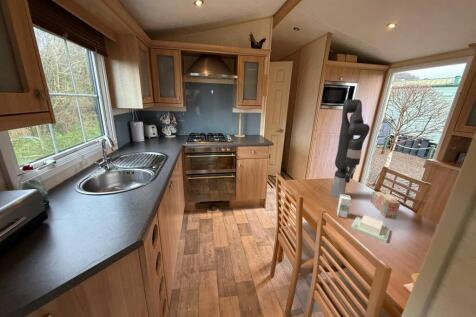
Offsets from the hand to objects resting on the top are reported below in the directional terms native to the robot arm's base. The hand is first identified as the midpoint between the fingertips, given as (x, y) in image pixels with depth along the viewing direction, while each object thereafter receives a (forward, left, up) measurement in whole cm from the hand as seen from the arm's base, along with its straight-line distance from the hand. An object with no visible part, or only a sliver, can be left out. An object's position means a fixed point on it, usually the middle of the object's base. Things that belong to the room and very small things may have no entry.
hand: (348, 180), depth 122 cm
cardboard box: (+19, +27, -26) cm, 42 cm away
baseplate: (+17, -4, -26) cm, 31 cm away
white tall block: (0, 0, -26) cm, 26 cm away
